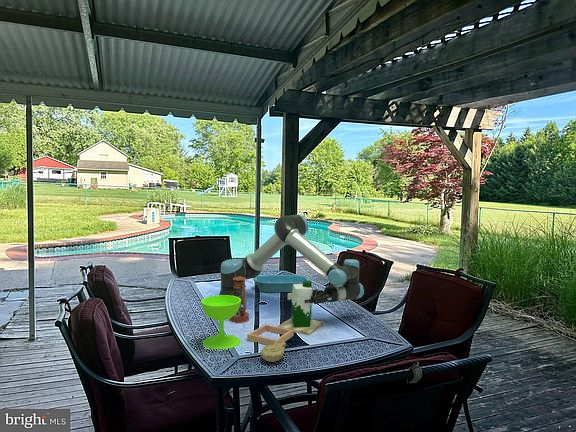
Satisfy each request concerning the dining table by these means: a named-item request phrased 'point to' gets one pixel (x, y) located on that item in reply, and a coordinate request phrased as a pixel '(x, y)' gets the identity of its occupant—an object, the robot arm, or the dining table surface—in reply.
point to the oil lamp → (273, 351)
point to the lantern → (241, 314)
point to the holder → (268, 341)
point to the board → (303, 330)
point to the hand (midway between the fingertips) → (292, 299)
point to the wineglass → (221, 319)
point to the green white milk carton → (302, 311)
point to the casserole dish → (279, 282)
